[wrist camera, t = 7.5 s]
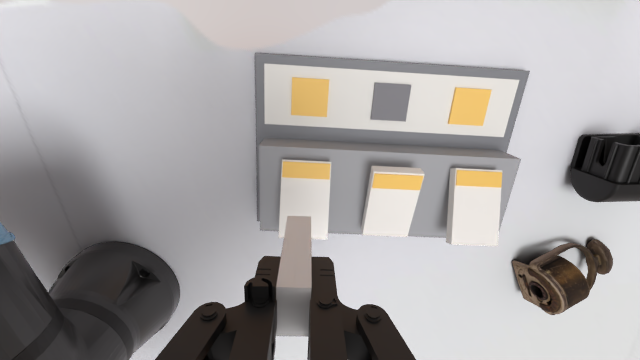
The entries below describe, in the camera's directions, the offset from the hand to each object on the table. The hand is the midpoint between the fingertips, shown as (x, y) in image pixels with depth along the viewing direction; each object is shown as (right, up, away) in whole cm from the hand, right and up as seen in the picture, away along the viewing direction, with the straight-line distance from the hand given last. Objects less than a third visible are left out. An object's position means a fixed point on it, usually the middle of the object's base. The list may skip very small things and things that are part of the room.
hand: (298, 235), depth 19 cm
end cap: (+38, +6, +19) cm, 43 cm away
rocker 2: (+18, +1, +13) cm, 22 cm away
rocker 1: (0, +1, +12) cm, 12 cm away
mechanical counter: (+35, -9, +24) cm, 43 cm away
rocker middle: (+9, +1, +12) cm, 15 cm away
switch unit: (+9, +7, +17) cm, 21 cm away
